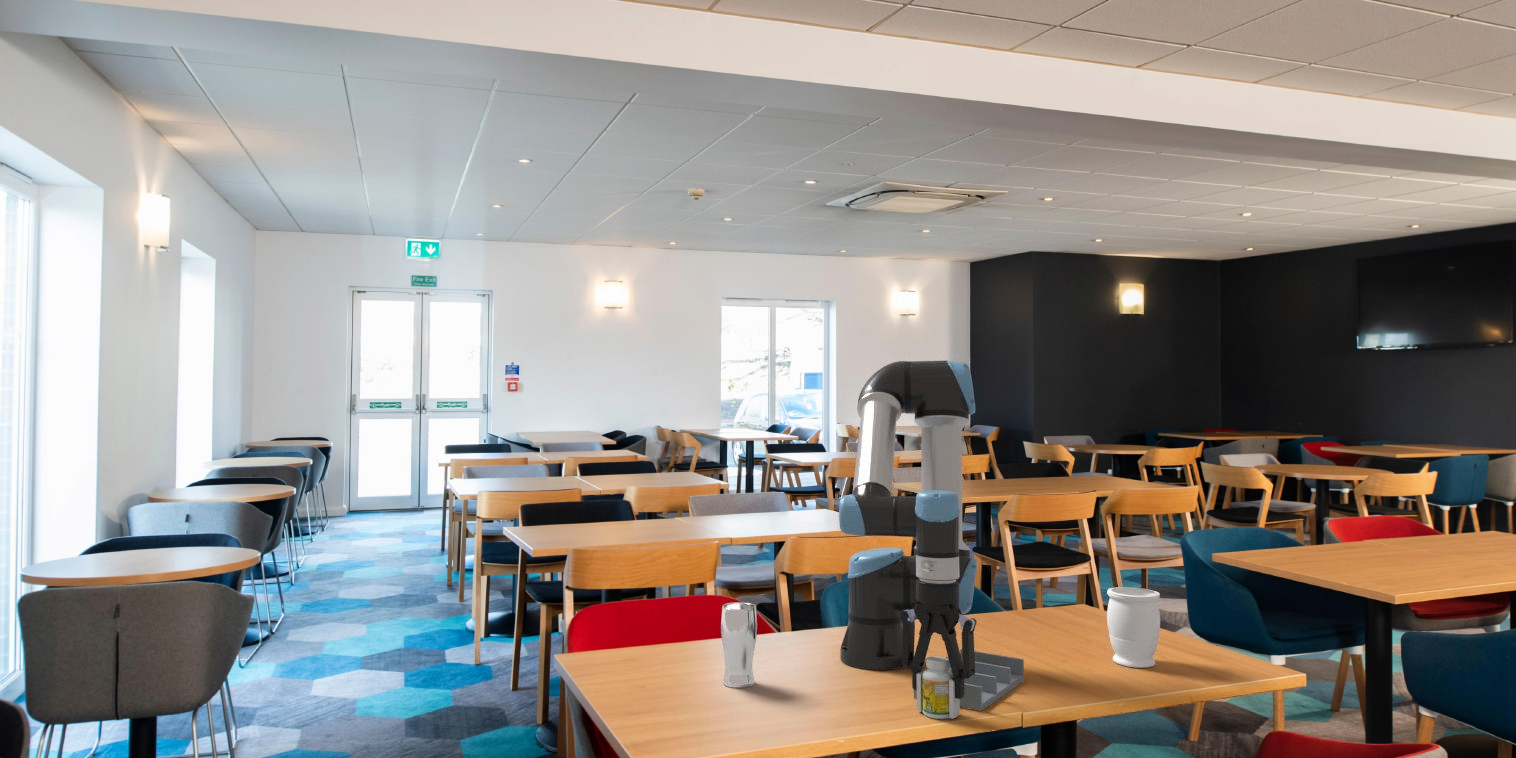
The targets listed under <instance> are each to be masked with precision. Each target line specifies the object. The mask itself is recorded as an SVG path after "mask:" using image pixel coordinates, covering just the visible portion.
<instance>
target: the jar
mask: <svg viewBox="0 0 1516 758" xmlns="http://www.w3.org/2000/svg"><path fill="white" fill-rule="evenodd" d="M1106 591H1107V592H1106V594H1107V595H1108V597H1109V600H1108V605H1107V610H1106V611H1107V612H1106V619H1107V620H1106V622H1107V629H1108V633H1109V635H1108V636H1109V640H1110V641H1109V642H1110V644H1111V648H1112V650H1113V652H1114V655H1113V657H1112V661H1113V662H1114V663H1115V664H1118V665H1120V666H1124V667H1130V668H1137V669H1138V668H1139V669H1144V668H1145V669H1147V668H1153V667H1154V666H1156V660H1155V659H1154V657H1153V656H1154V655H1155V654H1156V652H1157V648H1158V644H1159V637H1160V631H1161V613H1160V608H1159V604H1158V601H1159V600H1160V598H1161V596H1160V595H1161V594H1160V592H1158V591H1155V590H1151V589H1148V588H1142V587H1134V586H1133V587H1132V586H1129V587H1127V586H1120V587H1109V588H1108V589H1107V590H1106Z"/></svg>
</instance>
